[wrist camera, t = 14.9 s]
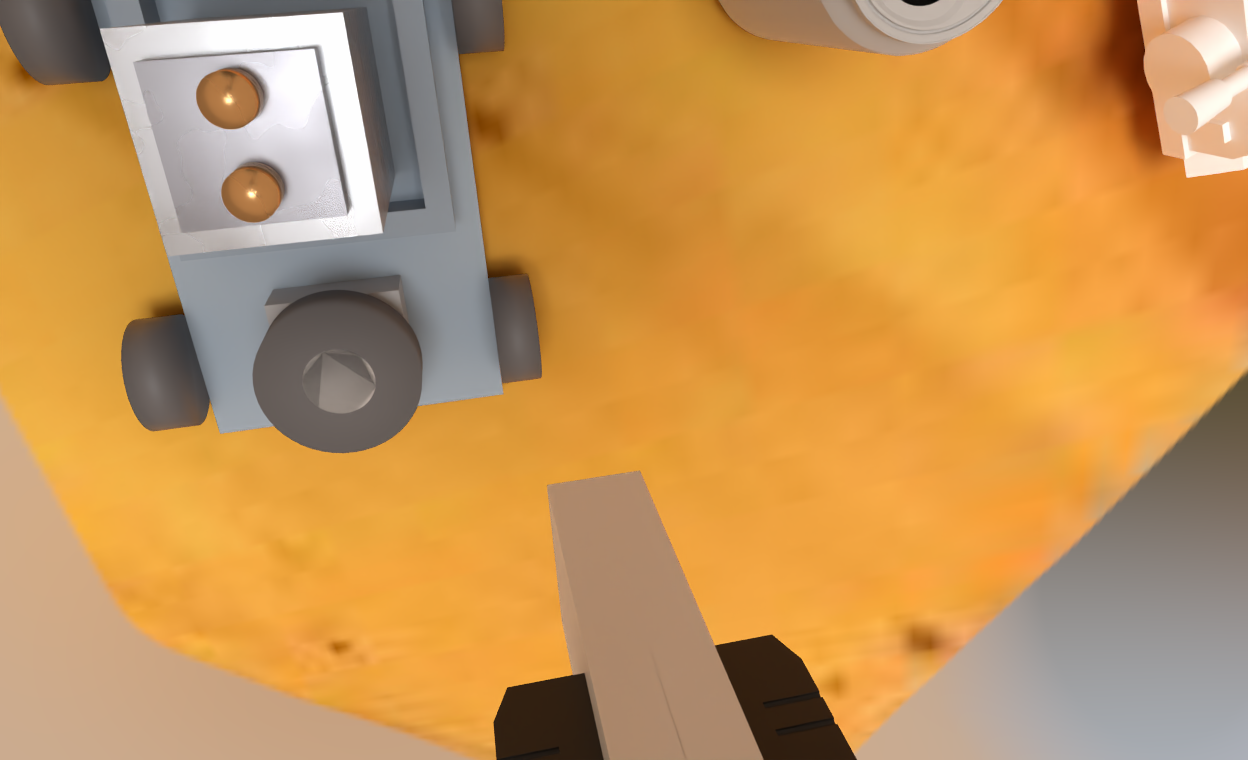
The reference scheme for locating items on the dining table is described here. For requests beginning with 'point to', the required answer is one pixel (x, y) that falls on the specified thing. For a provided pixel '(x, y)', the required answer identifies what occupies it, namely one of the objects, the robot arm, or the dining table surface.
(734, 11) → the beverage can
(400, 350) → the spare wheel
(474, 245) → the chassis
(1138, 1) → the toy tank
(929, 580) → the dining table surface
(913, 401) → the dining table surface
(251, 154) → the twin lamp box
